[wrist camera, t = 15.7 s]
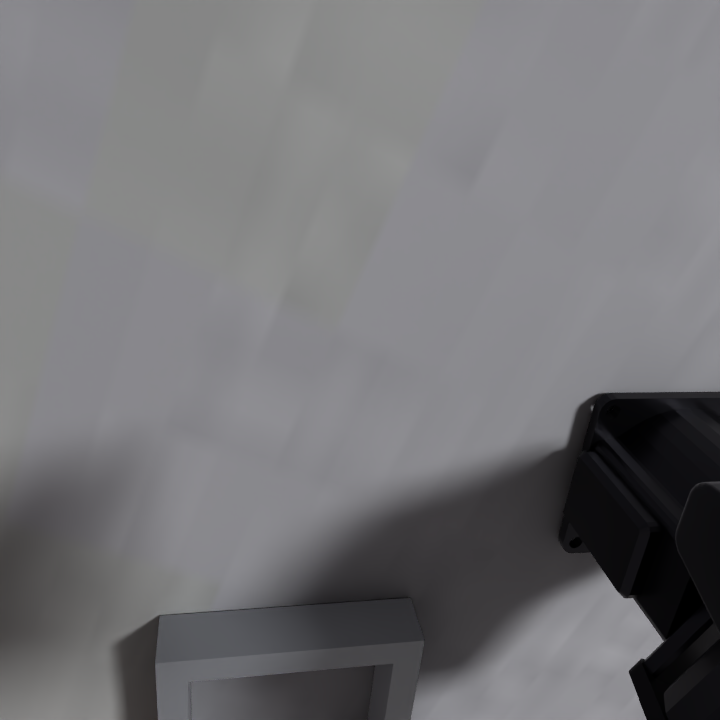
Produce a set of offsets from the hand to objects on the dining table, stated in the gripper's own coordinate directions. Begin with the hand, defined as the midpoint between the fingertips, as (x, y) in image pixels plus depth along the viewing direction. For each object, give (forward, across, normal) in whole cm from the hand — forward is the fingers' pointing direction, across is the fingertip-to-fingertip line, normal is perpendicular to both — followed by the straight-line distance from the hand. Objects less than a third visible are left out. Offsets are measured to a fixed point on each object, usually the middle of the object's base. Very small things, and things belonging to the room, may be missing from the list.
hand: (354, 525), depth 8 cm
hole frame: (+12, -1, +18) cm, 22 cm away
